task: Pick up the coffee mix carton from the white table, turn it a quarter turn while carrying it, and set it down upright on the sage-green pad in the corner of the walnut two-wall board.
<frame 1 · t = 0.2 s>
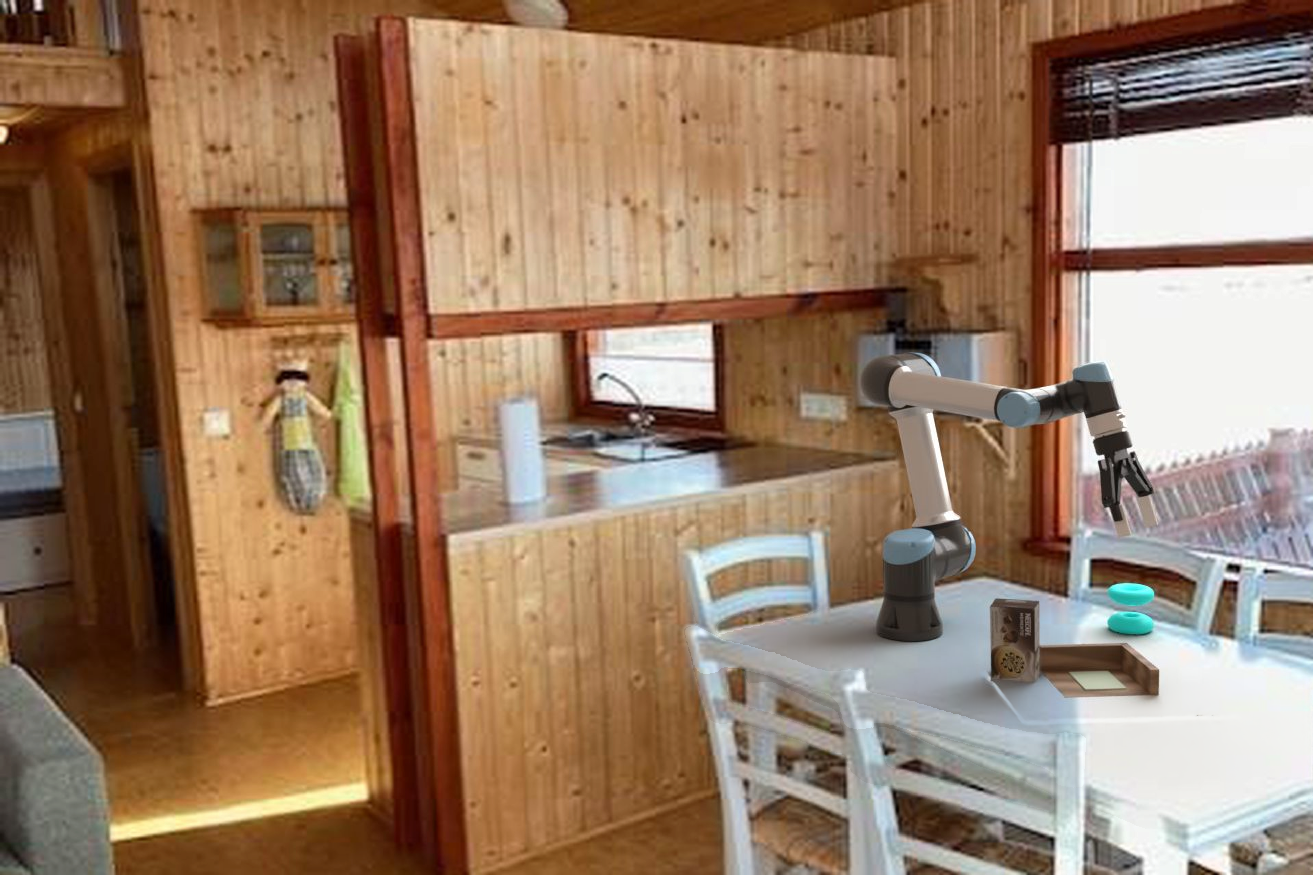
hand: (1138, 531, 272), 28 cm above the table, tool tilted 20°, fingers open, 13 cm apart
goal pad: (1096, 681, 260), resting on arena
arena: (1096, 684, 260), on the table
coffee box: (1015, 680, 265), on the table
donuts: (1130, 630, 297), on the table
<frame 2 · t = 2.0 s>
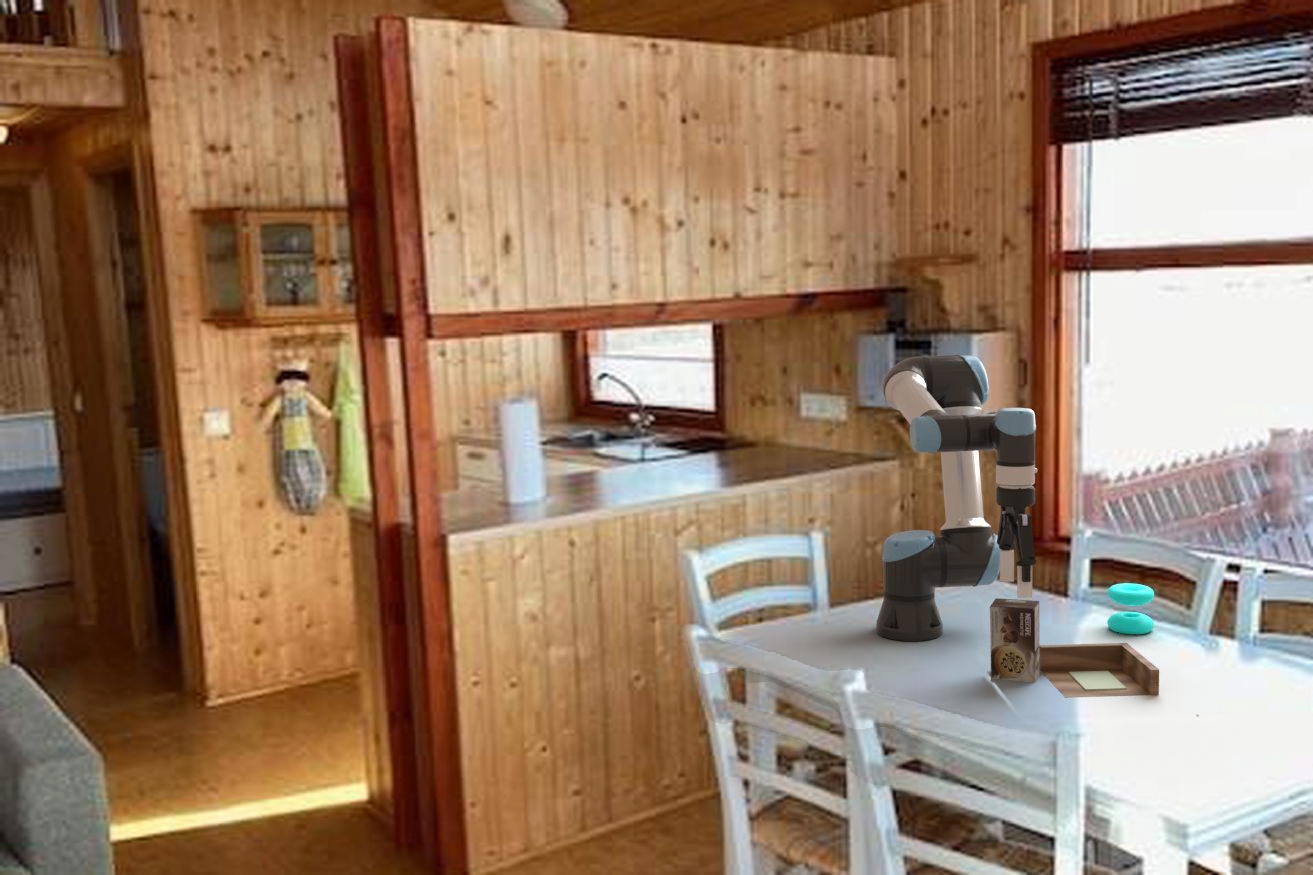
hand: (1015, 589, 262), 19 cm above the table, tool pointing down, fingers open, 13 cm apart
nothing on the table moved.
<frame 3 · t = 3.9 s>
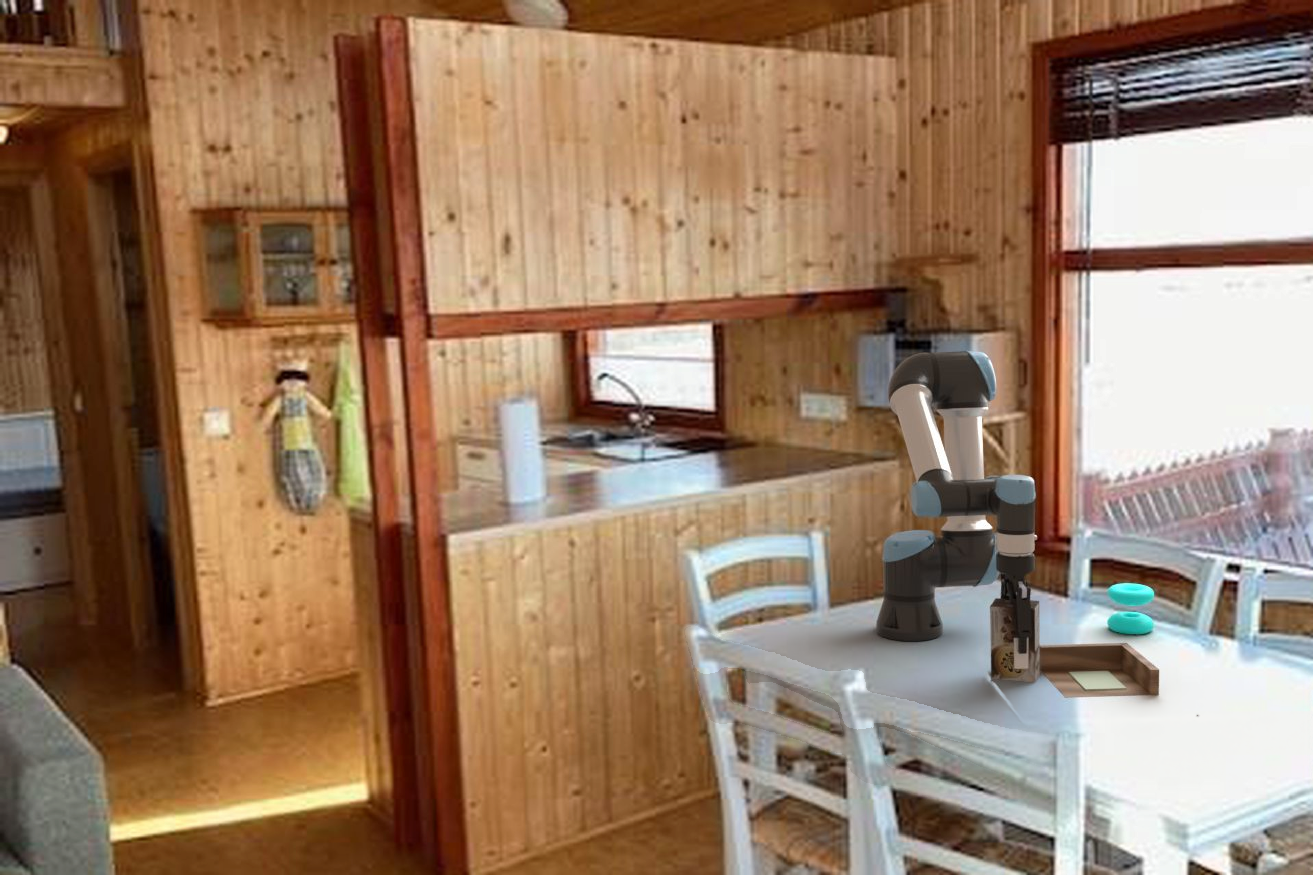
hand: (1015, 661, 264), 4 cm above the table, tool pointing down, fingers closed on coffee box, 8 cm apart
coffee box: (1015, 680, 265), on the table, touching gripper
everything else where it was.
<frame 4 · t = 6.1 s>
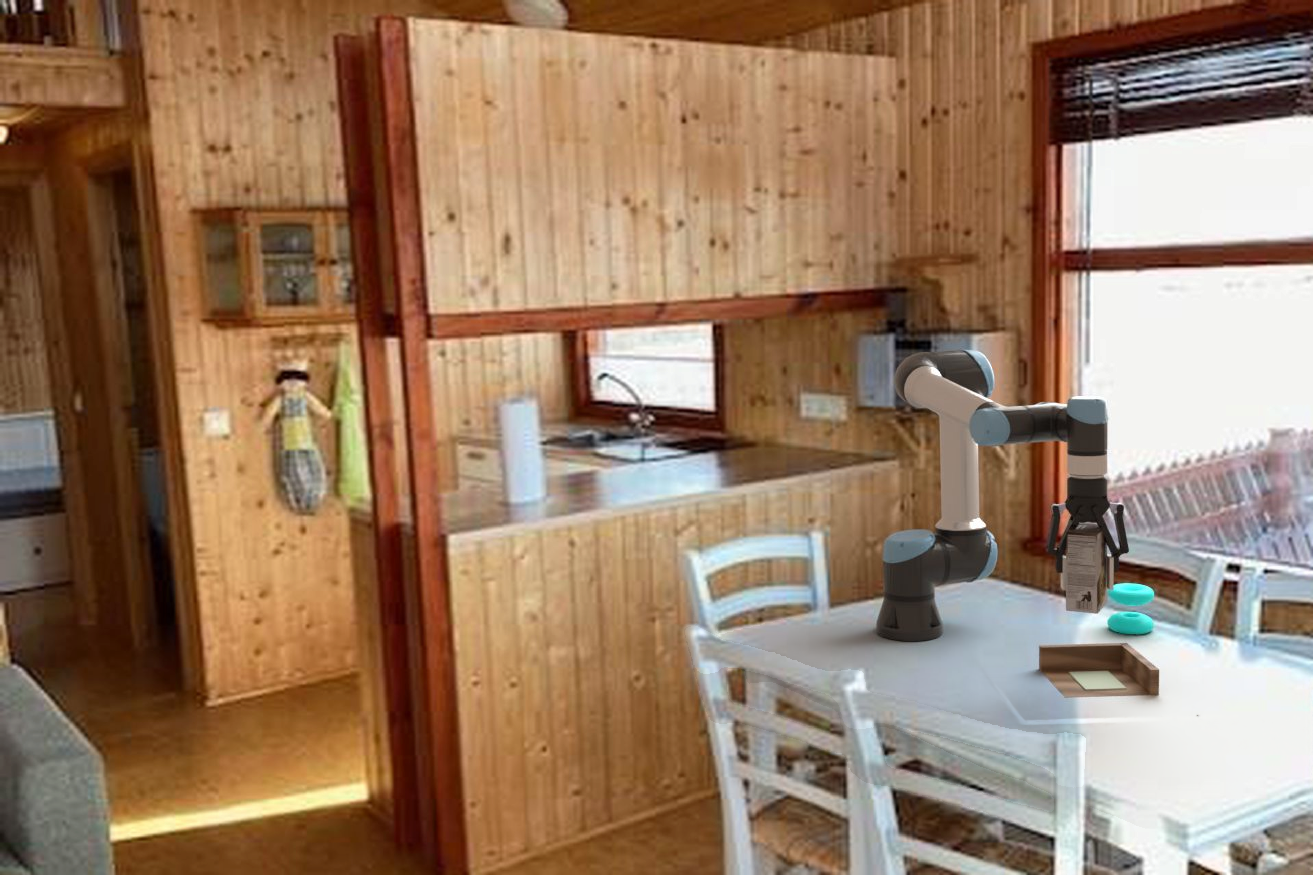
hand: (1086, 588, 257), 20 cm above the table, tool pointing down, fingers closed on coffee box, 8 cm apart
coffee box: (1086, 608, 258), point 16 cm above the table, touching gripper
everything else where it was.
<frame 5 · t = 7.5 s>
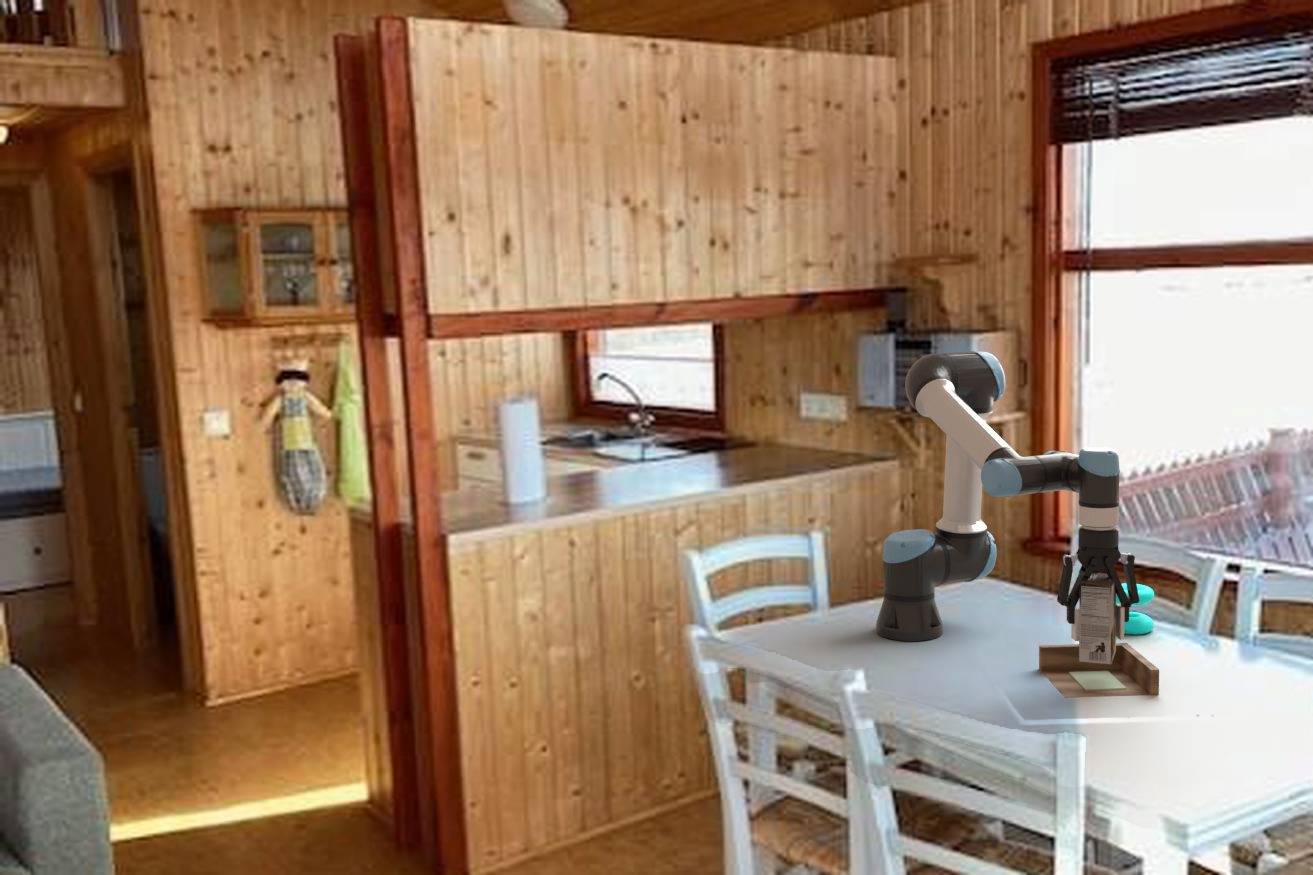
hand: (1097, 638, 258), 10 cm above the table, tool pointing down, fingers closed on coffee box, 8 cm apart
coffee box: (1097, 657, 259), point 6 cm above the table, touching gripper
everything else where it was.
when the fingers open (6 cm above the table, at t = 8.4 s): coffee box drops 1 cm, resting on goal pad.
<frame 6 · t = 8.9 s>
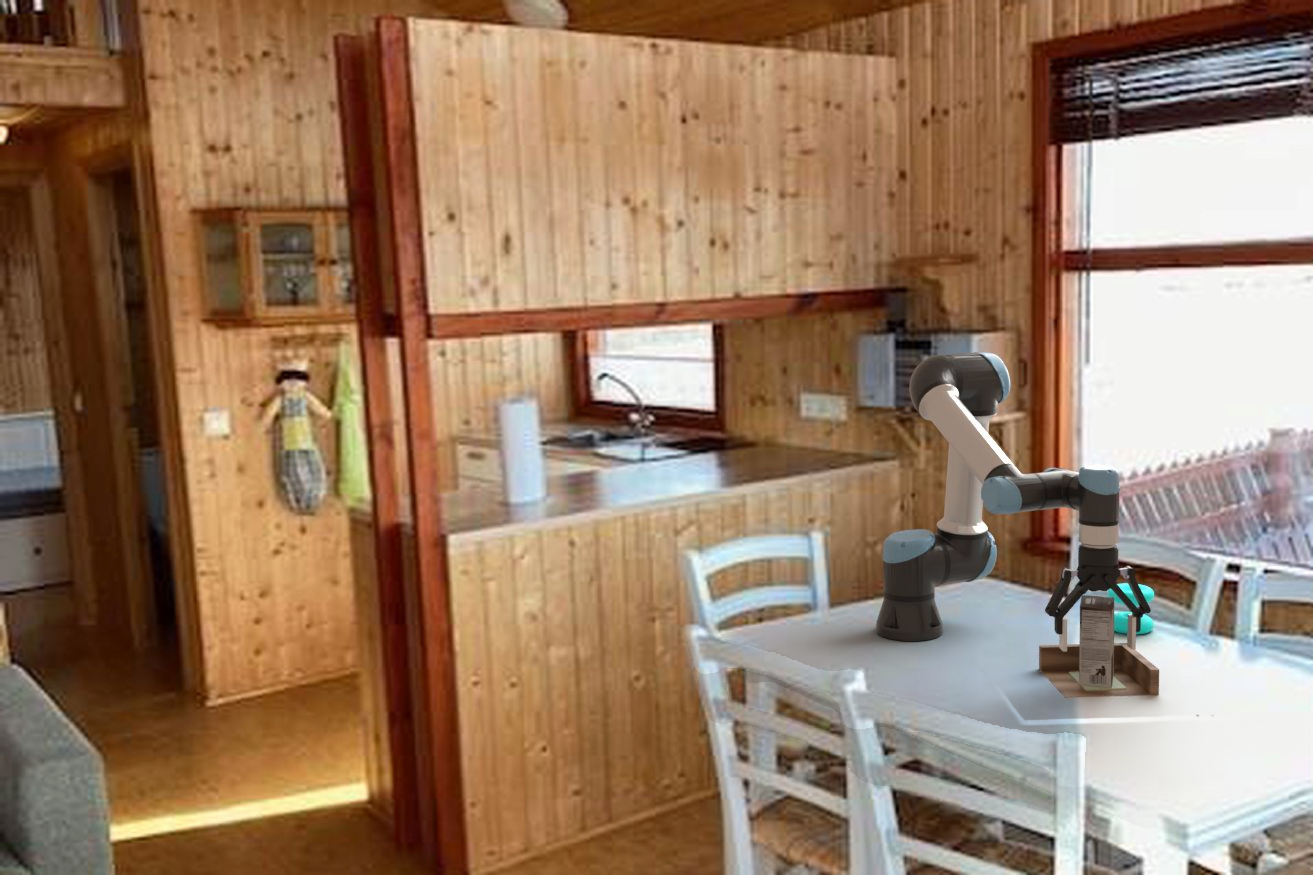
hand: (1097, 648, 259), 7 cm above the table, tool pointing down, fingers open, 13 cm apart
coffee box: (1096, 680, 260), point 1 cm above the table, touching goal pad
everything else where it was.
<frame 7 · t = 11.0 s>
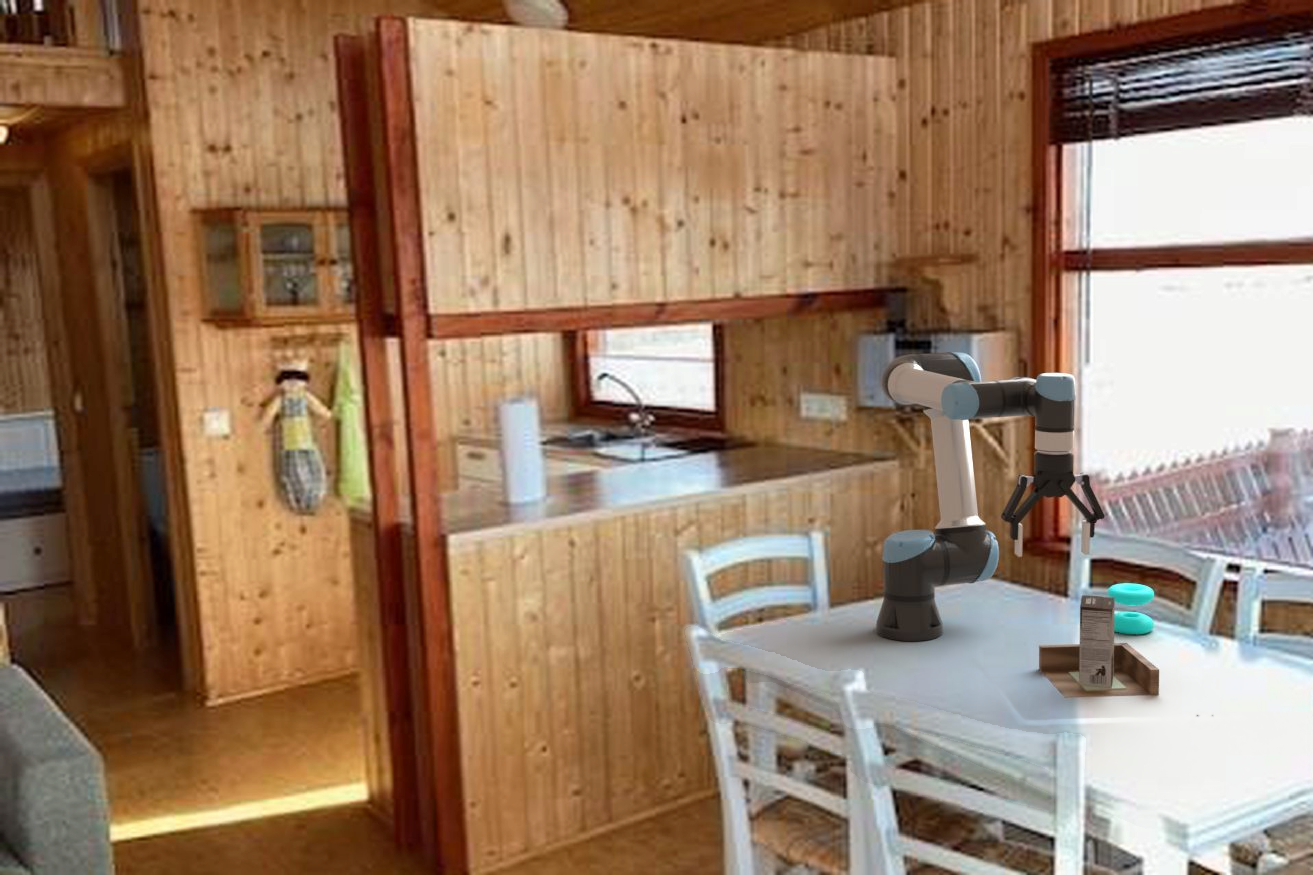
hand: (1051, 554, 263), 26 cm above the table, tool pointing down, fingers open, 13 cm apart
nothing on the table moved.
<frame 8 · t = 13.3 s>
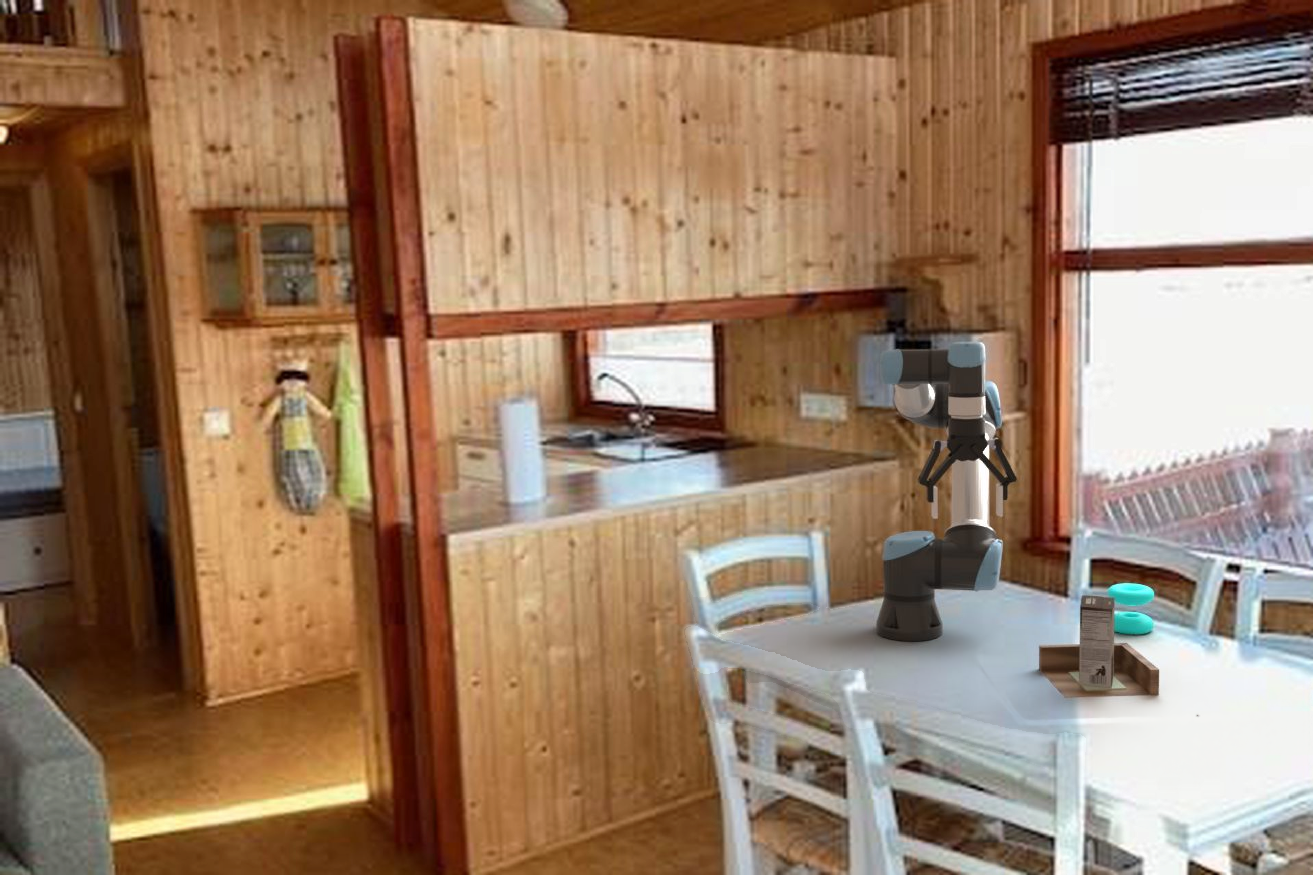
hand: (967, 516, 273), 32 cm above the table, tool pointing down, fingers open, 13 cm apart
nothing on the table moved.
at the end: coffee box inside the target area on the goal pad (0.1 cm from its centre), point 0.1 cm above the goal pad's base; coffee box tilted 0°; the gripper is holding nothing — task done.
